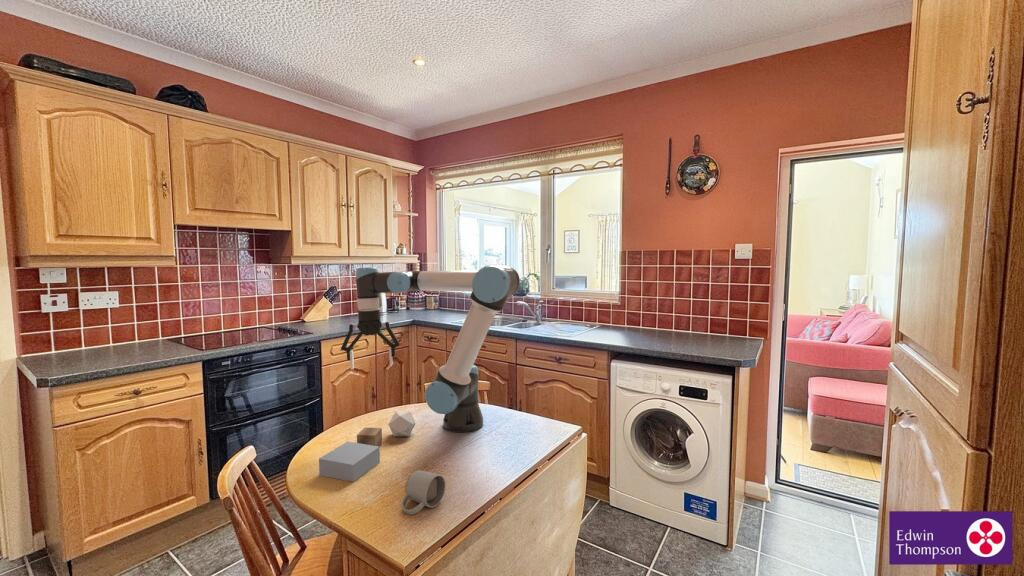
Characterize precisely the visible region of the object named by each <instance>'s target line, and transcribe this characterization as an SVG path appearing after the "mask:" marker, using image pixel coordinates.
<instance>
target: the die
mask: <svg viewBox="0 0 1024 576" xmlns="http://www.w3.org/2000/svg"><path fill="white" fill-rule="evenodd" d="M415 426H416V421H415V419H414V416H413V413H412V412H411V411H410V410H408V411H401V410H400V411H394V413H393V415H392V417H391V418H390V421H389V422H388V427H389V429H390V431H391V433H392V435H393V437H410V435H411V433H412V431H413V430H414V428H415Z"/></svg>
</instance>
